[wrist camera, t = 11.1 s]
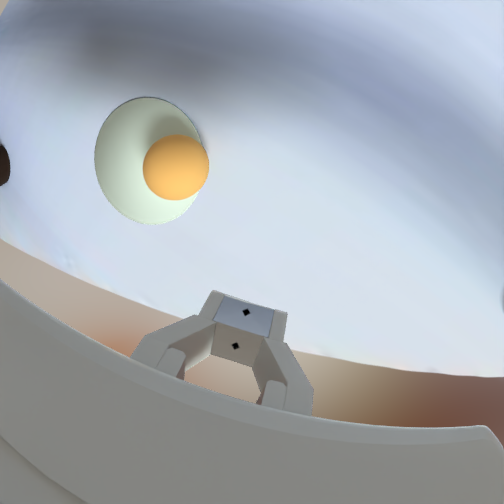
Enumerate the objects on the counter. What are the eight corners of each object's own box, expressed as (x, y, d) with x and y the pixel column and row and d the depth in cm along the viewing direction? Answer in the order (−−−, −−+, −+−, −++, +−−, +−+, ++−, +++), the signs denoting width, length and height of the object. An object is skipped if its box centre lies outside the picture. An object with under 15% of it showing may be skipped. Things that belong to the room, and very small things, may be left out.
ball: (177, 201, 18) (215, 205, 24) (190, 124, 18) (225, 143, 23) (124, 196, 20) (166, 199, 25) (135, 129, 19) (174, 143, 25)
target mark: (82, 178, 27) (81, 178, 27) (129, 75, 21) (128, 75, 20) (163, 247, 29) (162, 248, 29) (232, 147, 23) (231, 148, 22)
